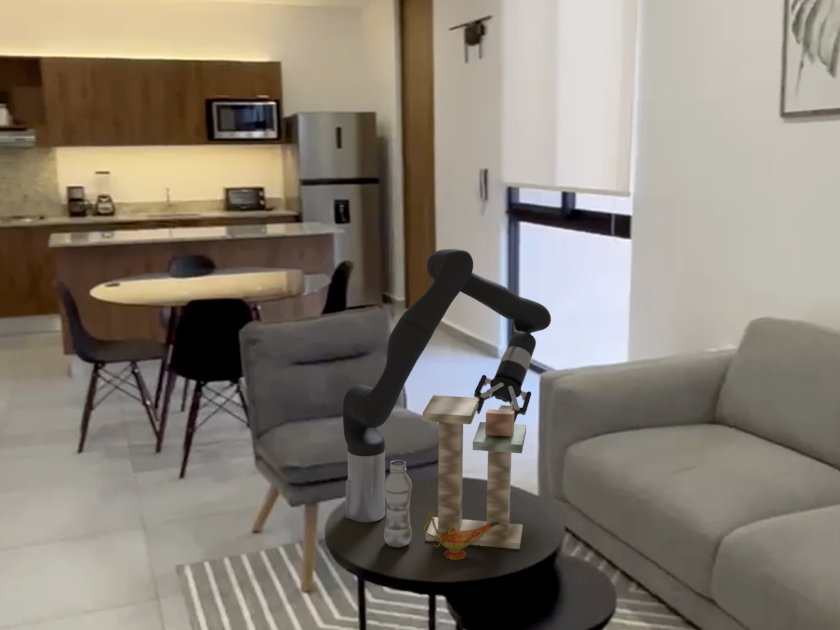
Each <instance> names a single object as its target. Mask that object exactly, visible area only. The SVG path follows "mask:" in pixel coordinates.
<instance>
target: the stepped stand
mask: <svg viewBox="0 0 840 630" xmlns="http://www.w3.org/2000/svg"><path fill="white" fill-rule="evenodd" d="M478 401H479V398H477V397H469V396H453V395H449V396H448V395H437V394H436V395H435V394H434V395H432V397H431V398H430V400H429V402H428V403H427V405H426V406H425V408H424V410H423V411H422V422H428V423H430V422H431V423H438V465H437V467H438V471H437V472H438V474H437V476H438V477H437V479H438V481H437V482H438V484H437V485H438V486H437V487H438V488H437V489H438V490H437V496H438V497H437V516H435V518H434V516H432V518H434V521H433V522H434V523H435V526H436V529H437V531H439V533H443V532H445V531H446V530H448V529H449V528H450V527H449V526H450V524H452V525H453V527H454V528H455V529H456V530H460V531H469V530H475V529H478V528H480V527H482V526H485V525H487V524H489V523H492V522H500V524H498V525H496V526H494V527H493V528H491V529H490V530H489V531H488V532H487V533H486V534H484V535H483V536H482V537H481V538H479V539H478V540H476V541H475V542H473V543H471V544H470V545H469V546H479V545H480V546H481V547H489V548H490V547H492V548H504V549H512V550H513V549H514V550H520V548H521V543H522V535H523V524H521V523H511V522H510V520H511V519H510V518H511V517H510V516H511V515H510V514H511V481H512V478H511V475H512V470H511V469H512V454H523V450H524V444H525V441H526V440H525V439H526V434H527V425H526V424H519V423H518V424H515V423H514V433H513V435H512V437H511V436H496V435H485V428H486V421H480V422H479V423H478V426H477V430H476V432H475V435H474V437H473V439H472V451H480V452H481V451H484V452H487V480H486V481H487V484H486V489H487V490H486V521H483V520H474V519H463V466H464V465H463V461H464V459H463V457H464V451H463V450H464V425H471V424H472V423H473V421H474V418H475V415H476V414H477V408H478ZM428 525H429V526H428V527H427V530H426V532H427V533H429V534H431V535H433V536H435V537H437V538H439V539H440V536H441V534H438V533H437V532H436V531H435V529H434V526H433V523H432V520H431V521H430V522H429V524H428ZM448 527H449V528H448ZM447 528H448V529H447ZM425 541H427V542H434V541H437V542H436V543H440V541H439V540H438V539H436V538H434V537H432V536H430V535H428V534H426V533H425Z"/></svg>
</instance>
